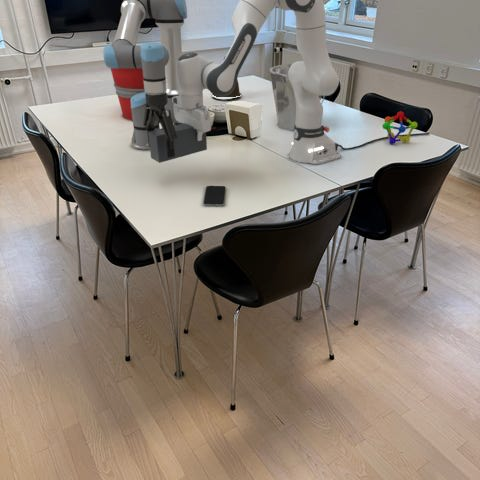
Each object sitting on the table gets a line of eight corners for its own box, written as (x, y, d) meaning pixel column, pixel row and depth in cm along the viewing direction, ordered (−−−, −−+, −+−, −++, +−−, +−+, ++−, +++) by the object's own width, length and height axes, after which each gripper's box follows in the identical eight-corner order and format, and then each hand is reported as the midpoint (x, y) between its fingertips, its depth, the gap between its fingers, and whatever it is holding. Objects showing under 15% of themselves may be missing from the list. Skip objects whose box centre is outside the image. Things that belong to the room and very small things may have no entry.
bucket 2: (296, 138, 215) (301, 78, 201) (255, 124, 234) (256, 68, 219) (335, 125, 232) (342, 70, 217) (294, 113, 251) (297, 61, 236)
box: (159, 162, 161) (156, 136, 156) (151, 158, 165) (147, 131, 160) (206, 149, 172) (205, 124, 167) (198, 145, 176) (196, 120, 171)
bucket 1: (122, 105, 263) (114, 51, 248) (180, 106, 263) (177, 52, 247) (105, 123, 234) (95, 63, 218) (171, 124, 233) (166, 64, 217)
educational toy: (377, 146, 209) (379, 114, 202) (384, 138, 219) (386, 107, 211) (411, 149, 202) (415, 116, 195) (417, 141, 212) (420, 109, 204)
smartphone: (203, 204, 154) (206, 185, 167) (203, 205, 155) (206, 187, 167) (223, 204, 154) (225, 185, 167) (223, 206, 155) (225, 187, 167)
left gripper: (184, 98, 146) (188, 159, 157) (148, 84, 162) (153, 139, 174) (164, 102, 142) (170, 164, 153) (129, 87, 158) (136, 143, 170)
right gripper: (214, 105, 157) (215, 143, 164) (183, 94, 171) (186, 129, 178) (199, 108, 154) (201, 146, 161) (169, 97, 167) (172, 132, 175)
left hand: (161, 151), depth 163 cm, fingers open, 13 cm apart
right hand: (193, 137), depth 170 cm, fingers closed on box, 6 cm apart
